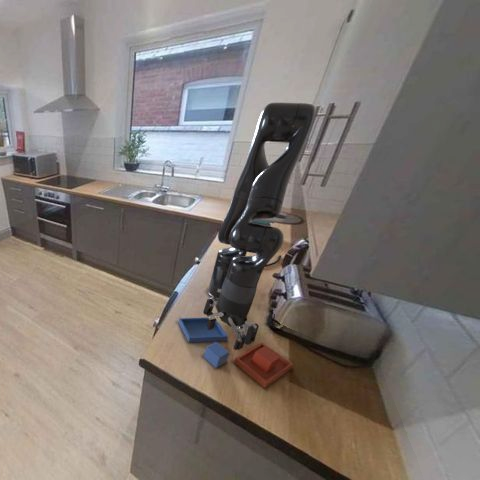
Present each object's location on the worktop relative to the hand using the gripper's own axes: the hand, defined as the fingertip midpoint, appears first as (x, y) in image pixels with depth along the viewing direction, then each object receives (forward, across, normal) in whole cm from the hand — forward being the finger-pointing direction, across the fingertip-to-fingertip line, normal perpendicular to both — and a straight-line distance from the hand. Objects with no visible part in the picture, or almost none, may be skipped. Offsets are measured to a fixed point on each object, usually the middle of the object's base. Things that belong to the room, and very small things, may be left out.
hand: (222, 338), depth 75 cm
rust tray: (+10, -8, -11) cm, 17 cm away
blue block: (+10, 0, 0) cm, 10 cm away
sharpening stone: (+8, +57, -104) cm, 119 cm away
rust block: (+9, -8, -11) cm, 16 cm away
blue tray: (+10, +10, -6) cm, 15 cm away
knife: (+9, +3, -42) cm, 43 cm away
